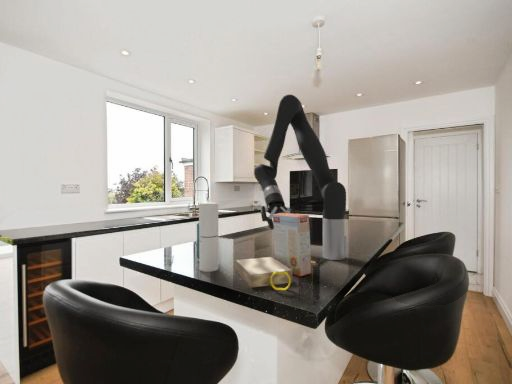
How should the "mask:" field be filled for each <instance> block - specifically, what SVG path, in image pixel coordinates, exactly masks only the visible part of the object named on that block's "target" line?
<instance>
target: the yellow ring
mask: <svg viewBox="0 0 512 384" xmlns="http://www.w3.org/2000/svg"><path fill="white" fill-rule="evenodd" d="M276 273H277V274H283V273H284V274H285V275H287V277H288V279H289V283H287V284H288V285H287V286H286V287H277V286H275V285H273V282H272V277H273V276H274V275H275V274H276ZM270 283H271V285H270V286H271V288H273V289H274V290H275V291H287V290H288V289H289V288H290V286H291V280H290V276H289V275H288V273H286V272H285V270H284V269H277V270H276V272H274V273H273V274H272V276H271V279H270Z"/></svg>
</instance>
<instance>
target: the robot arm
mask: <svg viewBox="0 0 512 384" xmlns="http://www.w3.org/2000/svg"><path fill="white" fill-rule="evenodd" d="M302 104H303V103H302V102H301V101H300V99H299V98H298V97H296V96H295V95H293V94H286V95H284V96H283V97H282V98H280V100H279V104H278V107H277V112H276V118H275V122H274V126H273V129H272V132H271V135H270V138H269V141H268V143H267V146H266V149H265V151H264V155H263V158H264V160H266V161H268V162H269V165H266V164H263V163H259V164H257V165H256V166H255V168H254V169H253V175H254V178H255V179H256V180H257V182H258V184H259V185H260V186H261V189H262V192H263V198H264V202H265V206H264V205H262V206H261V209H260V215H261V220H262V222H266V223H267V226H268V227H269V228H268V229H270V230H271V231H274V225H273V214H278V213H292V214H297V212H296V210H295V209H294V207H293V206H290V207H286V204H285V201H284V198H283V195H282V192H281V189H280V188H279V185H278V182H277V181H276V178H277V175H278V167H279V166H278V165H279V159H280V157H281V154H282V151H283V149H284V146H285V141H286V137H287V136H286V135H287V132H288V128H289V126H290V125H291V127H292V129H293V132H294V135H295V138H296V139H295V140H296V142H297V146H298V149H299V150H300V152H301V155H302V157H303V159H304V161H305V162H306V164H307V166H308V168H309V169H310V171H311V173H312V174H313V176H314V178H315V180H316V182H317V186H318V188H319V191H320V194H321V197H322V199H323V211H322V258H323V259H325V260H328V261H329V260H331V261H342V260H344V259H347V258H348V255H347V250H348V249H347V246H348V245H347V238H348V237H347V235H345V231H346V230H345V229H346V228H345V218H346V216H345V215H346V210H347V191H346V188H345V186H344V185H343V184H342V183H341V182H339V181H337V180H336V179H335V177H334V175H333V174H332V171H331V170H330V167H329V163H328V158H327V155H326V151H325V150H324V149H325V148H324V146H323V145H322V143H321V140H320V139H319V138H318V136H317V134H316V133H315V131H314V129H313V128H312V126H311V124H310V123H309V121H308V118H307V115H306V114H305V110H304V108H303V105H302ZM267 213H268V214H269V215H268V216H267Z"/></svg>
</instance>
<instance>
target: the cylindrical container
mask: <svg viewBox="0 0 512 384" xmlns="http://www.w3.org/2000/svg"><path fill="white" fill-rule="evenodd" d="M198 223H199V259H198V260H199V265H198V266H199V267H198V268H199V271H201V272H205V273H207V272H208V273H210V272H211V273H212V272H215V271H218V270H219V263H220V260H219V202H199V203H198Z"/></svg>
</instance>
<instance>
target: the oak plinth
mask: <svg viewBox="0 0 512 384" xmlns="http://www.w3.org/2000/svg"><path fill="white" fill-rule="evenodd" d="M277 269H284V270H285V272H286V273H288V275H289V276H290V280H291V283H293V274H292V270H291V269H290V268H288V267H287V266H285V265H283V264H282V263H280V262H279V261H277V260H275V257H272V256H267V257H257V258H246V259H245V258H244V259H236V260H235V271H236V273H237V275H239V276H240V277H241V278H242V279H243V280H244V281H245V283H246V284H247V285H248V286H249V287H250V288H258V287H268V286H271V283H270V279H271V276H272V274H273V273H274V272H276V270H277ZM272 282H273V285H274V286H275V285H283V284H289V279H288V277H287V275H285V274H284V273H283V274H277V273H276V274H275V275H274V276H273V277H272ZM291 283H290V284H291Z"/></svg>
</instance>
